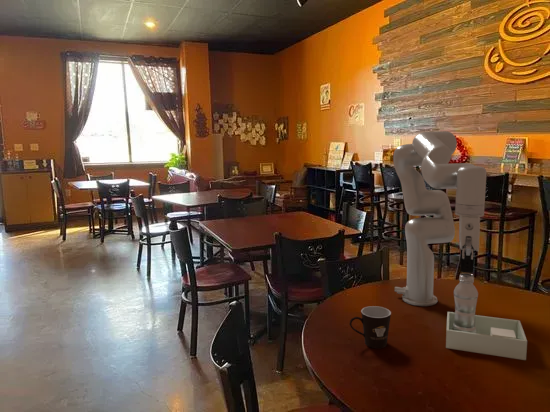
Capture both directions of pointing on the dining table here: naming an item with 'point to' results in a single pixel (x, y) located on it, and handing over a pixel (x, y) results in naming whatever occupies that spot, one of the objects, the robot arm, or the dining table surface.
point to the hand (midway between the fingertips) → (466, 266)
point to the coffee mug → (374, 326)
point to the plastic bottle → (465, 304)
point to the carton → (502, 333)
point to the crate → (488, 337)
